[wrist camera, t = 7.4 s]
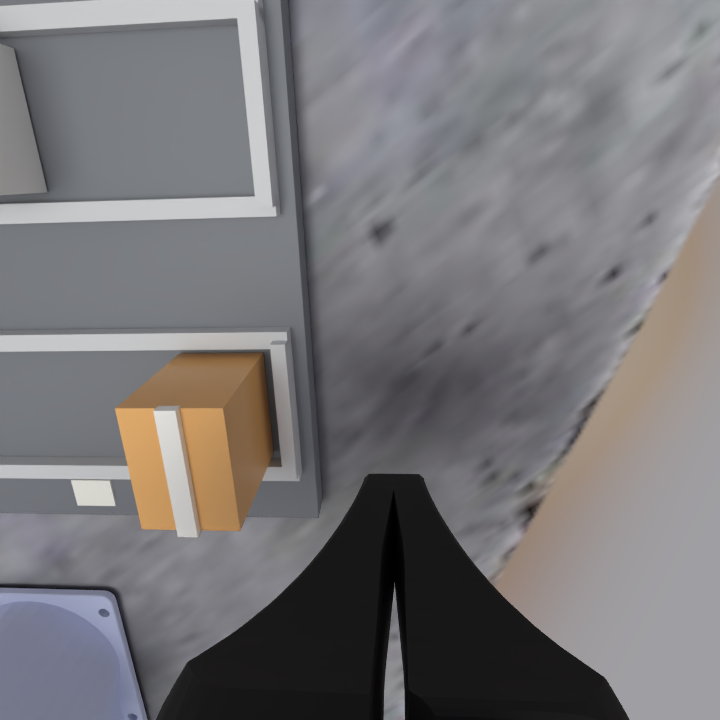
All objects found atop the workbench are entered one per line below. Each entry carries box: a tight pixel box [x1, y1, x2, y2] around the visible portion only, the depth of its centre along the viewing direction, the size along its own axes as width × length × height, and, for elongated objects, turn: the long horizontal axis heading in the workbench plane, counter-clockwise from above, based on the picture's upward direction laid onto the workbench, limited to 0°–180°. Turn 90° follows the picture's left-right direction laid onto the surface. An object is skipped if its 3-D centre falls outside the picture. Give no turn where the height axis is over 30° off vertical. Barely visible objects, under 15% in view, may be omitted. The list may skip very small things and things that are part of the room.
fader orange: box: [115, 353, 274, 537], centre depth 16 cm, size 4×3×5 cm
